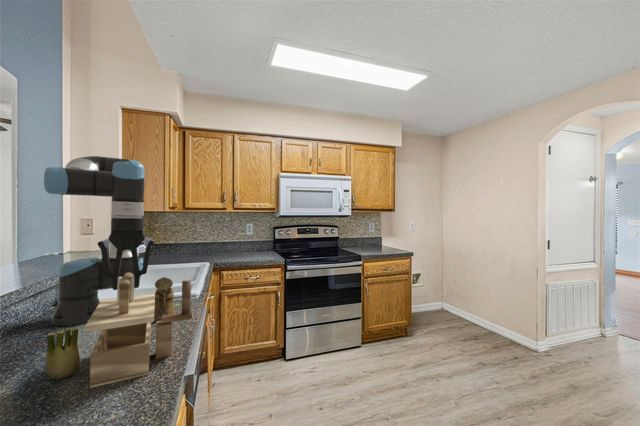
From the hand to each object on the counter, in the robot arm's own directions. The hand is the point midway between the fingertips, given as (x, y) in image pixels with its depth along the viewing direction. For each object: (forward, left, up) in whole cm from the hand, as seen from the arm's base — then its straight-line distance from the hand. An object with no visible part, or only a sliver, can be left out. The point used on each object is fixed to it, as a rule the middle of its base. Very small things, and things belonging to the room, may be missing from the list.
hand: (126, 300), depth 79 cm
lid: (0, 0, -4) cm, 4 cm away
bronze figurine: (-32, +10, -18) cm, 38 cm away
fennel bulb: (+1, -13, -18) cm, 22 cm away
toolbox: (0, +3, -17) cm, 18 cm away
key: (-45, +12, -18) cm, 50 cm away
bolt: (0, +13, -8) cm, 15 cm away
